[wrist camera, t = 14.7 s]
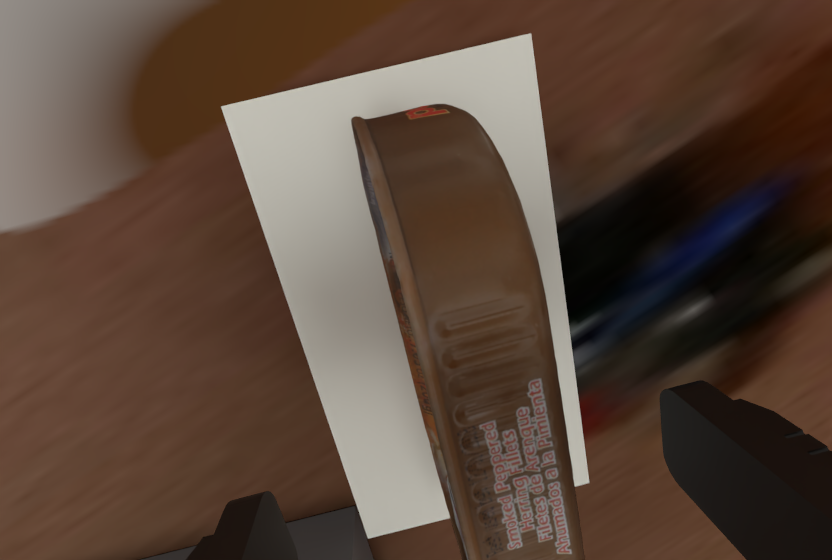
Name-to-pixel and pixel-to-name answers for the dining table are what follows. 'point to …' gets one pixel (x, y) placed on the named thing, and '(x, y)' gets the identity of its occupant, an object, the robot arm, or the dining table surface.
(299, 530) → the bin
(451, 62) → the cream board
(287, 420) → the dining table surface
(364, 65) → the dining table surface
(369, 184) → the tin
